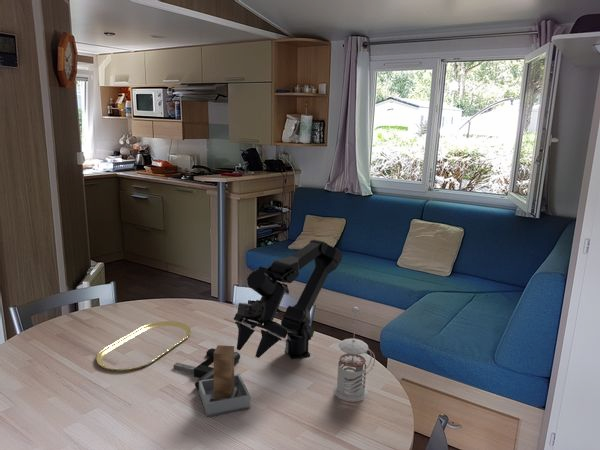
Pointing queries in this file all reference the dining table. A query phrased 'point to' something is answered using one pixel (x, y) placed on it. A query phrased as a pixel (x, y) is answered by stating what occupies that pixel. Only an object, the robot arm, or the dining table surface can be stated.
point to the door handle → (202, 367)
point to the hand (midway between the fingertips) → (247, 353)
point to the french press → (349, 381)
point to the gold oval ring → (134, 334)
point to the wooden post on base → (224, 374)
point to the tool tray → (227, 404)
